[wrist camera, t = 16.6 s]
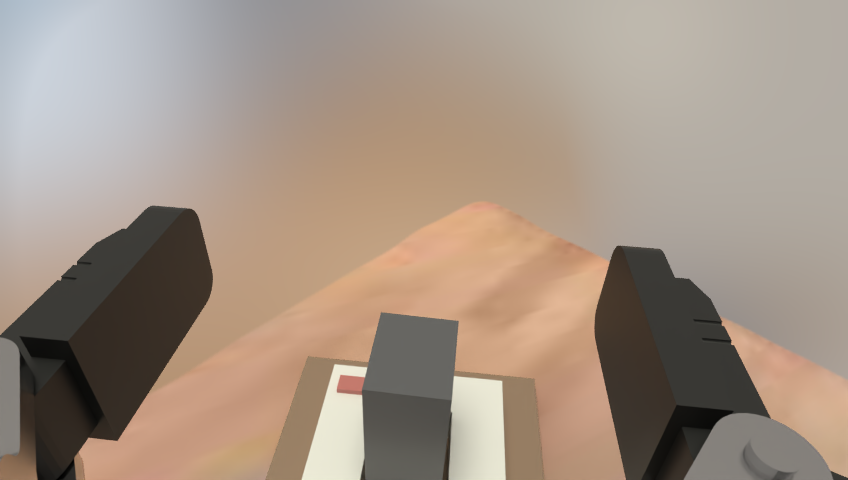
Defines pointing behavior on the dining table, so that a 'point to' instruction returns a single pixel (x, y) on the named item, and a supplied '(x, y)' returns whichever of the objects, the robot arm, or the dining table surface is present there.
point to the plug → (408, 397)
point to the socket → (467, 434)
